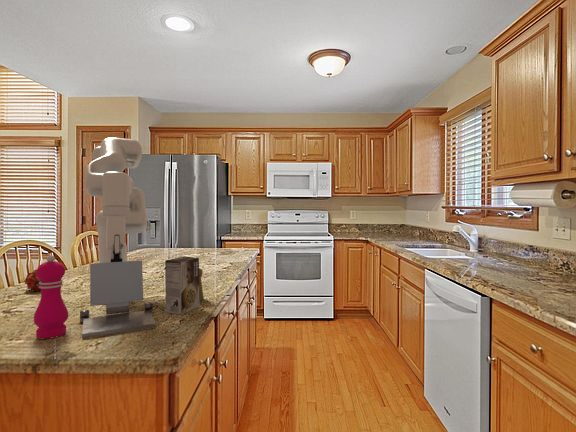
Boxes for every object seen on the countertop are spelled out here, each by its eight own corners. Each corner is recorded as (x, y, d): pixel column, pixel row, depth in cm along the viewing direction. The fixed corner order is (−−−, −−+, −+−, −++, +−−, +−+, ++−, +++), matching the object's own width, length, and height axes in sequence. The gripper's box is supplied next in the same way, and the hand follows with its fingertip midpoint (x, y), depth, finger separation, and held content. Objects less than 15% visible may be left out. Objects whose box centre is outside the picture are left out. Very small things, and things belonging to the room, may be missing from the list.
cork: (199, 302, 119) (199, 270, 119) (182, 301, 120) (182, 269, 120) (206, 297, 125) (206, 267, 125) (191, 296, 126) (191, 266, 126)
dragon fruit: (42, 290, 143) (40, 300, 133) (20, 280, 139) (17, 290, 129) (56, 272, 145) (55, 282, 135) (35, 262, 140) (33, 271, 130)
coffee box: (184, 304, 116) (183, 256, 115) (200, 307, 113) (200, 257, 113) (164, 312, 107) (164, 259, 107) (181, 314, 105) (181, 261, 105)
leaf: (90, 316, 98) (90, 316, 100) (143, 310, 105) (143, 310, 107) (90, 263, 101) (90, 264, 103) (142, 260, 108) (141, 261, 110)
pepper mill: (45, 330, 91) (44, 253, 91) (74, 329, 92) (73, 253, 92) (26, 340, 84) (25, 257, 84) (58, 339, 85) (57, 257, 84)
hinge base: (80, 320, 99) (80, 309, 99) (151, 311, 108) (151, 301, 108) (77, 339, 85) (77, 327, 85) (159, 327, 94) (159, 316, 94)
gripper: (102, 212, 113) (102, 269, 113) (102, 212, 100) (103, 276, 100) (127, 212, 116) (128, 267, 117) (131, 212, 103) (131, 274, 103)
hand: (116, 271), depth 108 cm, fingers closed
